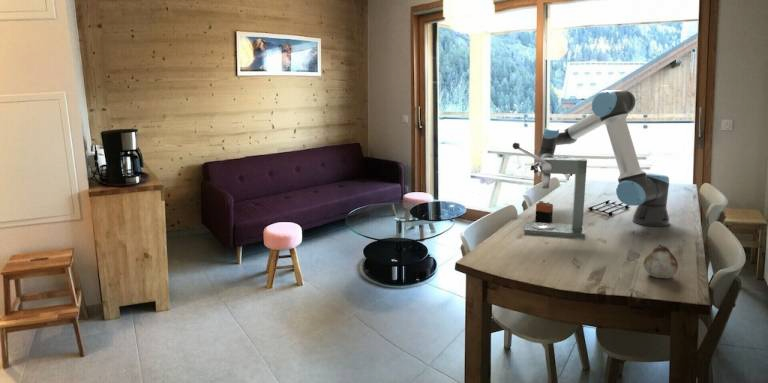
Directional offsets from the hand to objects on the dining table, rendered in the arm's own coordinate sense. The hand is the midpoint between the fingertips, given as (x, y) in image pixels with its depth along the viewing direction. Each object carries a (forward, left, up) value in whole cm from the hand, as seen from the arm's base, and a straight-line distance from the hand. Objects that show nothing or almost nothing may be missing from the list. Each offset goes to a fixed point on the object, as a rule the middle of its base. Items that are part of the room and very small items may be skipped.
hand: (553, 175), depth 234 cm
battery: (+4, +6, -22) cm, 23 cm away
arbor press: (+2, +21, -22) cm, 30 cm away
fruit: (-34, +66, -22) cm, 78 cm away
